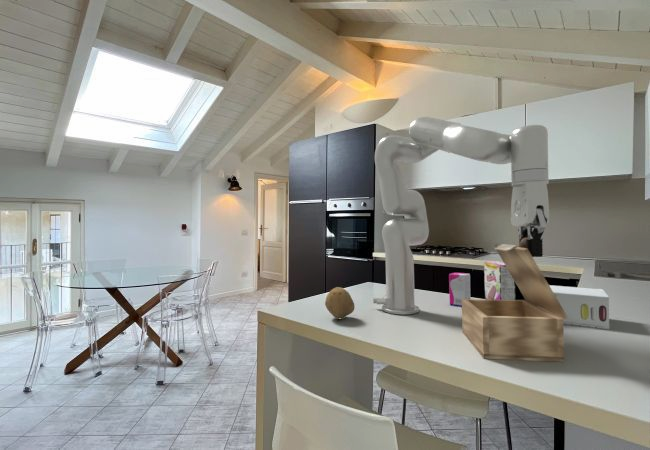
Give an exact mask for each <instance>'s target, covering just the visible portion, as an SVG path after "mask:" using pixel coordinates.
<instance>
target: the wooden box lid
mask: <svg viewBox="0 0 650 450" xmlns="http://www.w3.org/2000/svg"><path fill="white" fill-rule="evenodd" d="M526 240H529V239H528V237H526V238H523V239H522V240H521V241H520V246H519V245H515V244H509V243H508V244H507V243H502V244H501V243H496V244H493V247H494V250H496V252H497V253H498V255H499V257H500V258H501V260H502V263H504V264H505V265H506V267H507V269H508V271H509V272H510V274H511V276H512V278H513V279H514V281H515V285H516V287H518V289H519V291H520V293H521V294H522V296H523V299H524V300H526V301H528V302H530V303H532V304H534V305H536V306H539V307H541V308H543V309H545V310H547V311H549V312H551V313H553V314H555V315H557V316H559V317H561V318H563V319H566V318H568V317H567V315H566V313H565V312H564V310H563V308H562V306H561V305H560V303H559V301H558V300H557V298H556V296H555V295H554V293H553V291H552V289H551V288H550V286H549V285H550V284H549V283H548V281H547V280H546V277H545V276H544V274H543V272H542V271H541V269H540V267H539V266H538V264H537V263H536V262H537V261H535V259H534V257H532V255H531V254H530V252H529V250H528V249H527V246H526Z"/></svg>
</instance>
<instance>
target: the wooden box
mask: <svg viewBox="0 0 650 450" xmlns="http://www.w3.org/2000/svg"><path fill="white" fill-rule="evenodd" d="M461 320H462V321H461V322H462V323H461V324H462V325H461V327H462V328H461V329H462V332H461V333H462V334H463V335H464V336H465V337H466V339H467V340H468V341H469V342H470V344H471V345H472V347H474V348H475V350H476V351H477V352H478V353H479V355H480V356H481V357H482V358H483V359H490V360H491V359H492V360H508V361H509V360H510V361H511V360H512V361H513V360H514V361H530V362H531V361H536V362H558V363H559V362H560V363H562V362H563V363H565V340H564V339H565V335H564V332H565V331H564V330H565V329H564V324H563V319H562V318H560V317H558V316H556V315H554V314H552V313H550V312H548V311H546V310H544V309H542V308H540V307H538V306H537V305H535V304H533V303H531V302H529V301H527V300H525V299H515V300H488V299H485V298H484V299H483V298H482V299H481V298H479V299H475V298H471V299H462V307H461Z"/></svg>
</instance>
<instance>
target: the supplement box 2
mask: <svg viewBox="0 0 650 450" xmlns="http://www.w3.org/2000/svg"><path fill="white" fill-rule="evenodd" d="M549 286H550V288H551V289H552V291H553V293H554V295H555V296H556V298H557V300H558V301H559V303H560V305H561V306H562V308H563V310H564V312H565V313H566V315H567V317H568V318H566V319H563V318H562V319H563V323H564V324H565V325H571V324H573V325H574V326H579V325H581V326H580V327H587V326H590V327H589V328H595V327H597V328H596V329H604V330H605V329H606V330H610V296H609V294H607V292H605V290H604V289H602V288H591V287H589V288H587V287H579V286H577V287H576V286H563V285H550V284H549ZM538 307H539V306H538ZM540 308H541V307H540ZM542 309H543V308H542ZM544 310H545V309H544ZM546 311H547V310H546ZM548 312H549V311H548ZM550 313H551V312H550ZM552 314H553V313H552ZM554 315H555V314H554ZM556 316H557V315H556ZM558 317H559V316H558ZM560 318H561V317H560ZM564 324H563V325H564ZM573 325H572V326H573Z"/></svg>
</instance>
